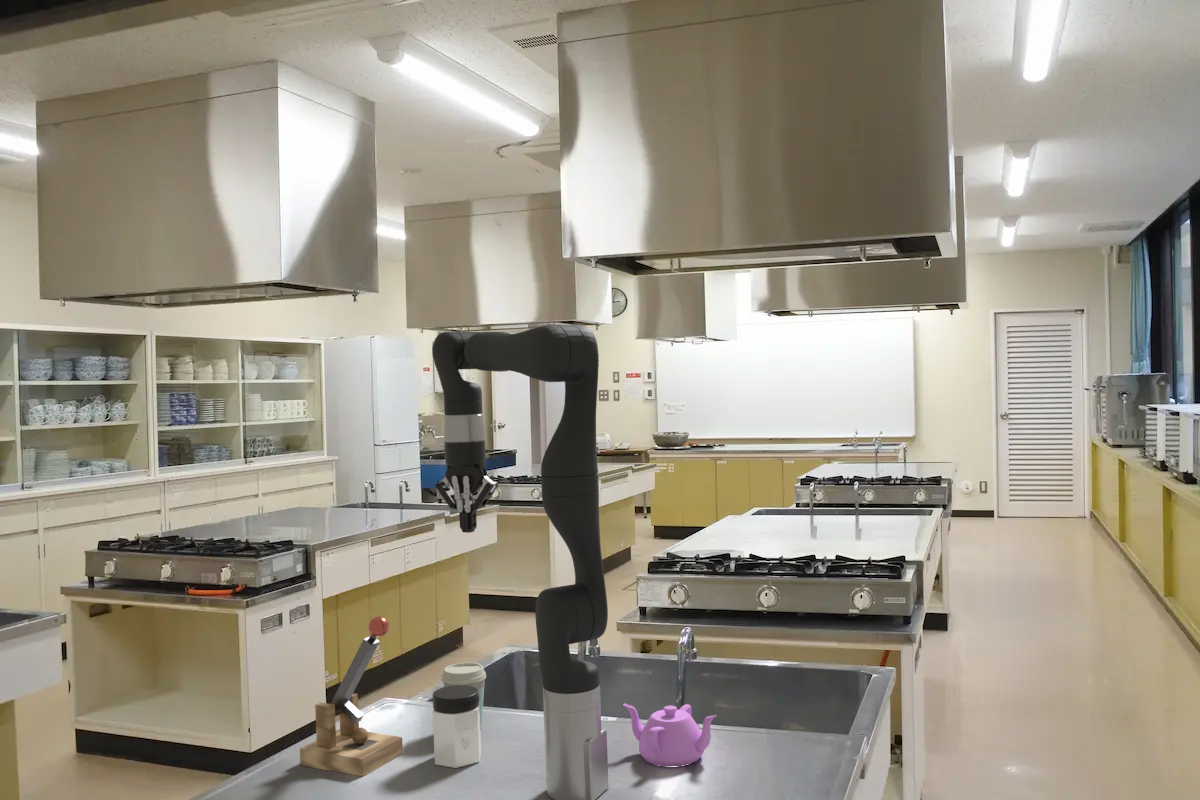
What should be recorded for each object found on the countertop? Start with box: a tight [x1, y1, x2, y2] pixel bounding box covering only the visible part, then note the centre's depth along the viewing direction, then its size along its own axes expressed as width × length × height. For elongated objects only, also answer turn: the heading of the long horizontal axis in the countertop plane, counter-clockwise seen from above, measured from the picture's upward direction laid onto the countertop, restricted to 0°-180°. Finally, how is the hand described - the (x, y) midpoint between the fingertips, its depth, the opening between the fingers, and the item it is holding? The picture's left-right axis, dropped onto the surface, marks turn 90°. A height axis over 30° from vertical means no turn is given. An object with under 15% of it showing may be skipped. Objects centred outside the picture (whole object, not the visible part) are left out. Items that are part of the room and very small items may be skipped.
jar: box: [432, 685, 482, 769], centre depth 174 cm, size 9×8×12 cm
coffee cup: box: [441, 662, 487, 731], centre depth 189 cm, size 8×9×12 cm
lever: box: [330, 615, 390, 723], centre depth 174 cm, size 7×4×21 cm
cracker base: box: [299, 693, 404, 777], centre depth 176 cm, size 14×11×10 cm
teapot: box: [622, 703, 717, 766], centre depth 172 cm, size 12×14×9 cm
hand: (468, 531), depth 183 cm, fingers closed
